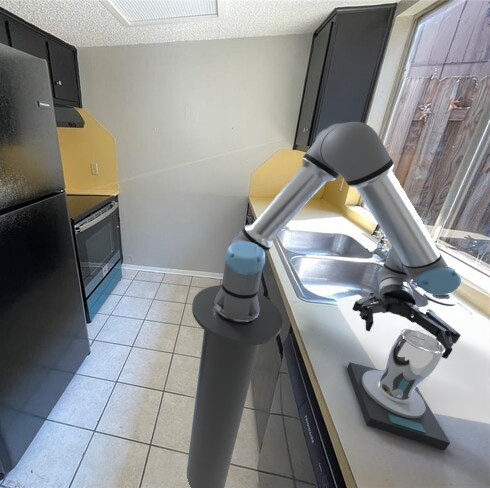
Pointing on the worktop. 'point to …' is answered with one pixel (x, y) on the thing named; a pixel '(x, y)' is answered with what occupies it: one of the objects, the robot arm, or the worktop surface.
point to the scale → (395, 410)
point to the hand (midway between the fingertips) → (406, 339)
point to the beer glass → (409, 364)
